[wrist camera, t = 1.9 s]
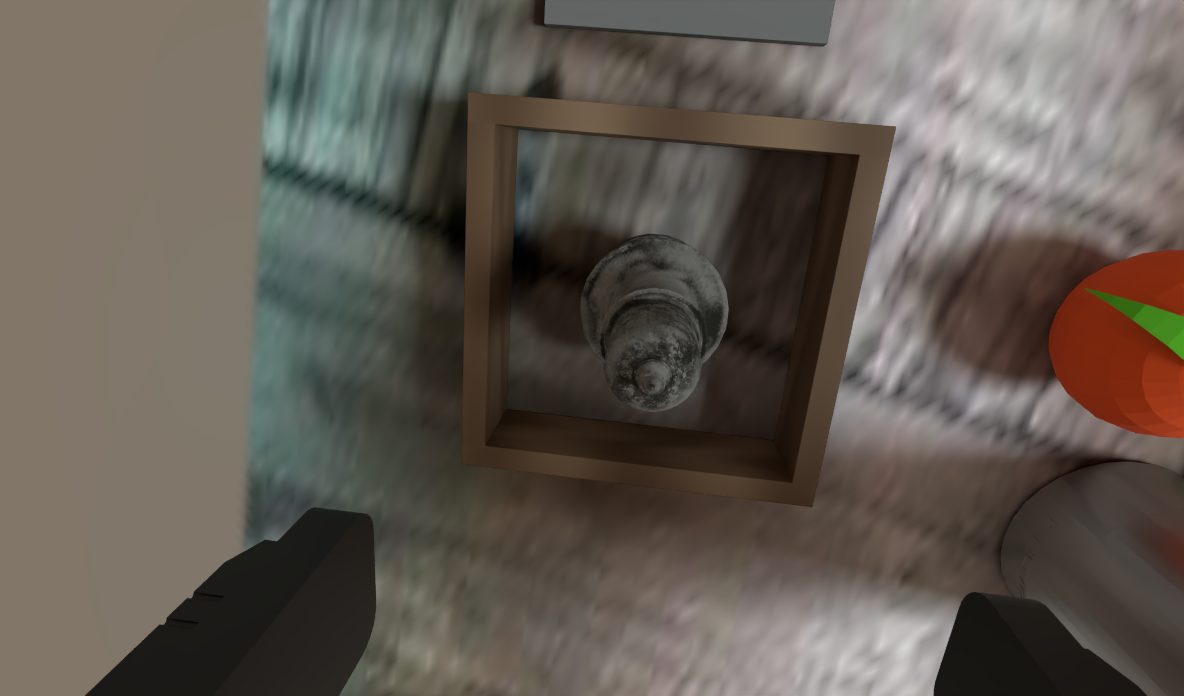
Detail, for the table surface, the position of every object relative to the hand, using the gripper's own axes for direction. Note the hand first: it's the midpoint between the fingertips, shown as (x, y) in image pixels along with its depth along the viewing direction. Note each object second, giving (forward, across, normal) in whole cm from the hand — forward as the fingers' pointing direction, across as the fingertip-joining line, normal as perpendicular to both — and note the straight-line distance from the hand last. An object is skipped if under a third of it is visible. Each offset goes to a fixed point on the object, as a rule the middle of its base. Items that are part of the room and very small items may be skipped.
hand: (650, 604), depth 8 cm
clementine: (+20, -19, -1) cm, 27 cm away
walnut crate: (+20, 0, 0) cm, 20 cm away
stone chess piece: (+20, 0, 0) cm, 20 cm away
